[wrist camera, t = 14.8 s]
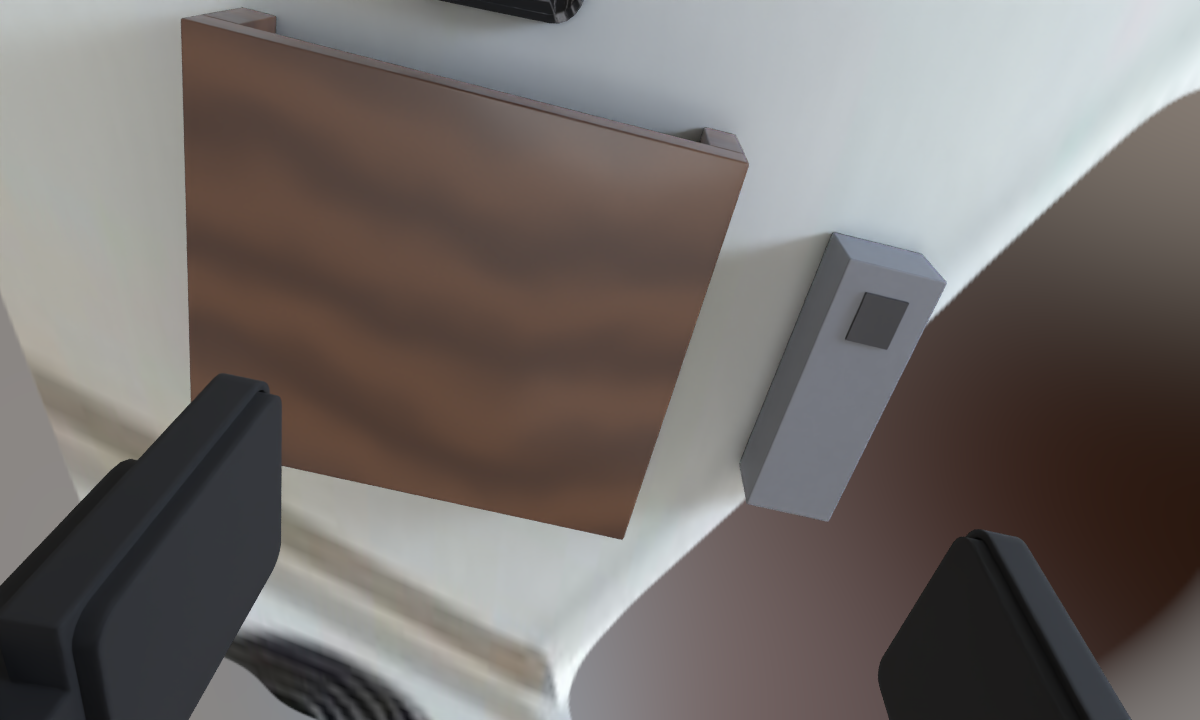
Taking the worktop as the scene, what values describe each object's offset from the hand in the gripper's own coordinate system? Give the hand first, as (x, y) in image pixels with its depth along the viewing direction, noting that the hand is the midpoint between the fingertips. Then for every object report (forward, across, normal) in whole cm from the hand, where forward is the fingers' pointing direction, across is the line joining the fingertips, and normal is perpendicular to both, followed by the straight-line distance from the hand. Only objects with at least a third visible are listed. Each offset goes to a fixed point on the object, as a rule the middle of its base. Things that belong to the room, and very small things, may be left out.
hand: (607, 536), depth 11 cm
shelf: (+27, +6, +10) cm, 29 cm away
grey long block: (+27, -13, +10) cm, 31 cm away
